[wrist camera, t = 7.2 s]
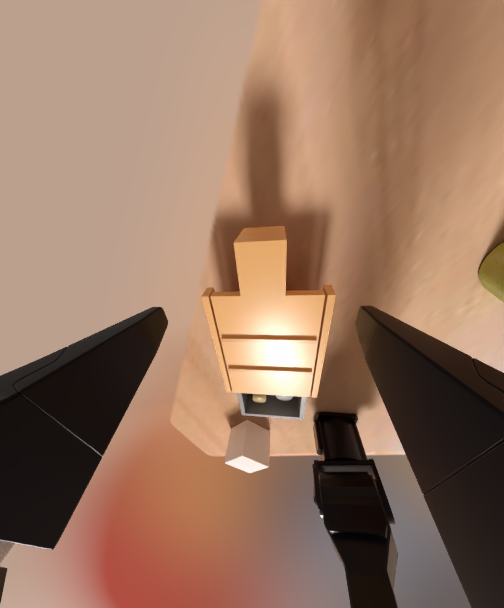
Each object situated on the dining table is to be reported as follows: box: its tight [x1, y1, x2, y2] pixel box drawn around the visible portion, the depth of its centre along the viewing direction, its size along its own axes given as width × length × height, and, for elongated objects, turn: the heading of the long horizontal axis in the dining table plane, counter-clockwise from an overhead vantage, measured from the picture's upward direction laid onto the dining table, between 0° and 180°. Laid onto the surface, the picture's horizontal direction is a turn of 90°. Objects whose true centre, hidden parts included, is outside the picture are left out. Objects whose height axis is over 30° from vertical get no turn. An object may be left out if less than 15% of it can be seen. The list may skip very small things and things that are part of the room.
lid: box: [201, 226, 336, 398], centre depth 17 cm, size 11×19×4 cm, turn 5°
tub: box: [237, 393, 306, 420], centre depth 26 cm, size 9×13×4 cm
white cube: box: [225, 420, 270, 473], centre depth 37 cm, size 6×6×6 cm
